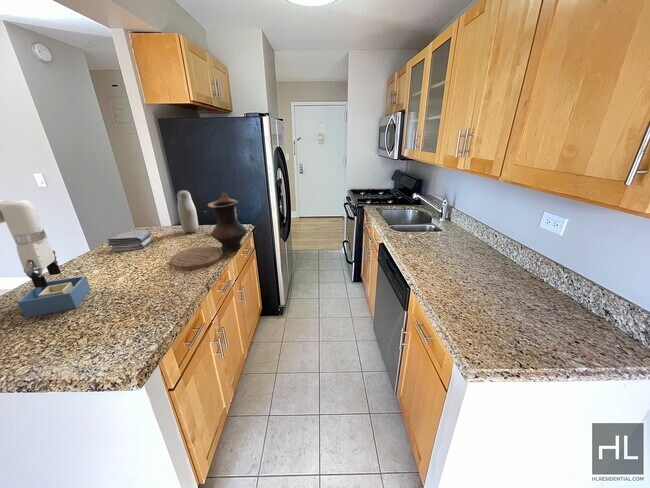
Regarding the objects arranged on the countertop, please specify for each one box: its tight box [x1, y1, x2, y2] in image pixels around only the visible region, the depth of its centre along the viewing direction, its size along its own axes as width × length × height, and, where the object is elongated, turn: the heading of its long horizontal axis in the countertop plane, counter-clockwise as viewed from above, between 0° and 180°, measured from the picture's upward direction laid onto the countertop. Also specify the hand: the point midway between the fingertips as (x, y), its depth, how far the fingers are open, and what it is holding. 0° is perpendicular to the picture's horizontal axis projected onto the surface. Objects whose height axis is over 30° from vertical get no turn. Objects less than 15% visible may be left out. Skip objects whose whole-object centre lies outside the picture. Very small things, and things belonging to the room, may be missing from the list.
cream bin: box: [38, 283, 73, 298], centre depth 98 cm, size 7×7×6 cm
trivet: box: [169, 245, 225, 271], centre depth 135 cm, size 25×25×2 cm
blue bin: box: [16, 275, 92, 319], centre depth 98 cm, size 14×14×7 cm
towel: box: [107, 229, 154, 253], centre depth 151 cm, size 15×18×8 cm
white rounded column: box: [176, 189, 199, 234], centre depth 169 cm, size 10×10×28 cm
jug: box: [207, 192, 248, 253], centre depth 144 cm, size 21×18×30 cm
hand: (49, 280), depth 96 cm, fingers open, 9 cm apart
